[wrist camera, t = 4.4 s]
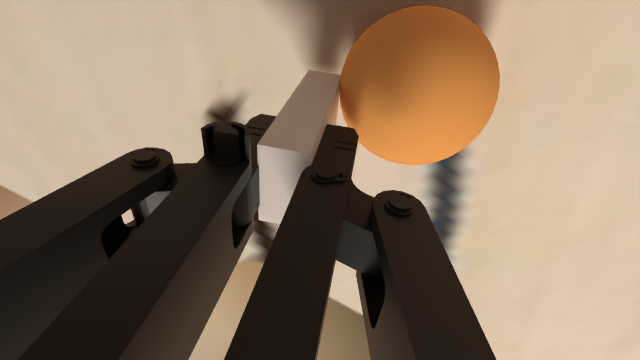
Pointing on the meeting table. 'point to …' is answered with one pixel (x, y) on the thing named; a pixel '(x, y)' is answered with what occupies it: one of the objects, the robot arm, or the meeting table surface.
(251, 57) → the meeting table surface
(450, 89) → the ball
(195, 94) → the meeting table surface
